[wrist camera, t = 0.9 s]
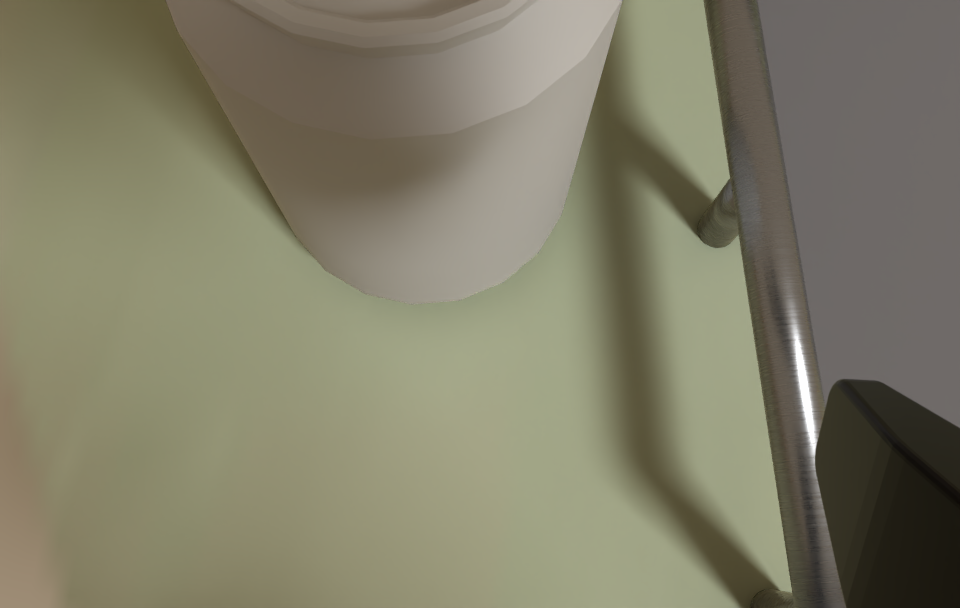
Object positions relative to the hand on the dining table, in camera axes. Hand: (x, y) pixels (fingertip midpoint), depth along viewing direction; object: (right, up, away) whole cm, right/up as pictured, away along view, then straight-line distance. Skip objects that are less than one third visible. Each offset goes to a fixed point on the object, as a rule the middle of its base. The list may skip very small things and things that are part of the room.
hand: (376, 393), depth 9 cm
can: (0, +4, +15) cm, 16 cm away
